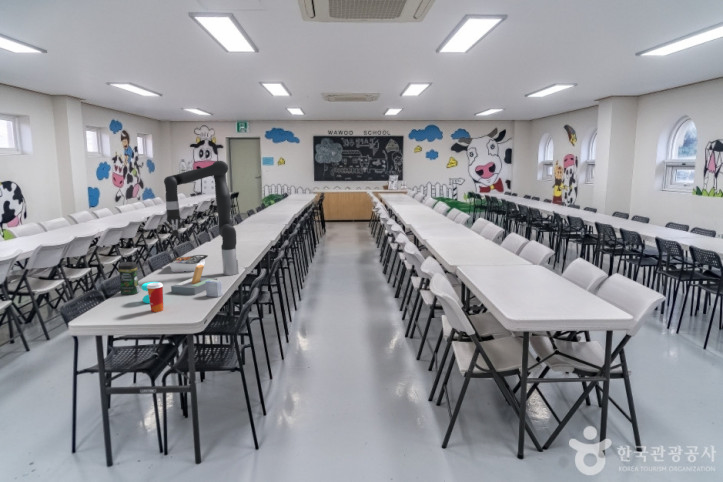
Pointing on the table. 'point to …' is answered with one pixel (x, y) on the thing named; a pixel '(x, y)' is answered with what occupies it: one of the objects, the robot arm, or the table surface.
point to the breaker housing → (190, 286)
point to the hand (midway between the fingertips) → (175, 235)
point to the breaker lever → (197, 274)
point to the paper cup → (155, 296)
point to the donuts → (144, 287)
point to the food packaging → (187, 263)
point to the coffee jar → (128, 278)
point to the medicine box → (214, 288)
